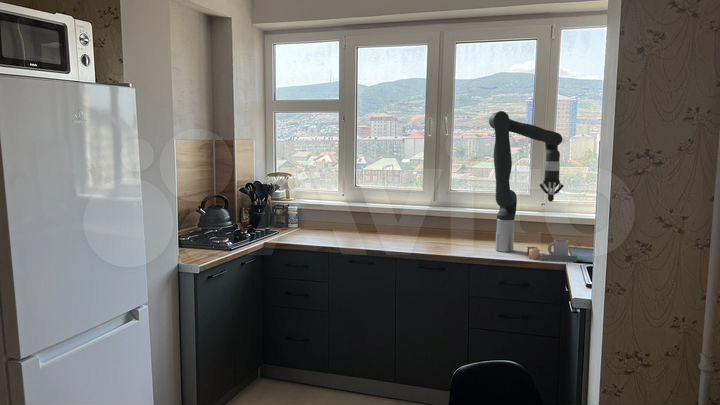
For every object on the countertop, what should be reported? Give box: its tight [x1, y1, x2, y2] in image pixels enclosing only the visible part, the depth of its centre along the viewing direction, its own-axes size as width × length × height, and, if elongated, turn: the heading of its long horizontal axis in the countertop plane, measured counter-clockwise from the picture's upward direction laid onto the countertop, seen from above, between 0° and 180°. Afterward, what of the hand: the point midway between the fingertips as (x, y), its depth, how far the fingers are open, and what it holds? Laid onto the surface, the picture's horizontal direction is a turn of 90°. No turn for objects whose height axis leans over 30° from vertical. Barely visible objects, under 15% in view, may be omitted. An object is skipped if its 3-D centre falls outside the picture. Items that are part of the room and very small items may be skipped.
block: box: [527, 246, 539, 256], centre depth 277 cm, size 4×4×4 cm
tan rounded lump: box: [528, 247, 541, 261], centre depth 269 cm, size 5×5×5 cm
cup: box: [547, 238, 570, 255], centre depth 271 cm, size 7×10×9 cm
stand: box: [541, 252, 578, 263], centre depth 265 cm, size 16×4×3 cm, turn 80°
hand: (550, 201), depth 289 cm, fingers closed
